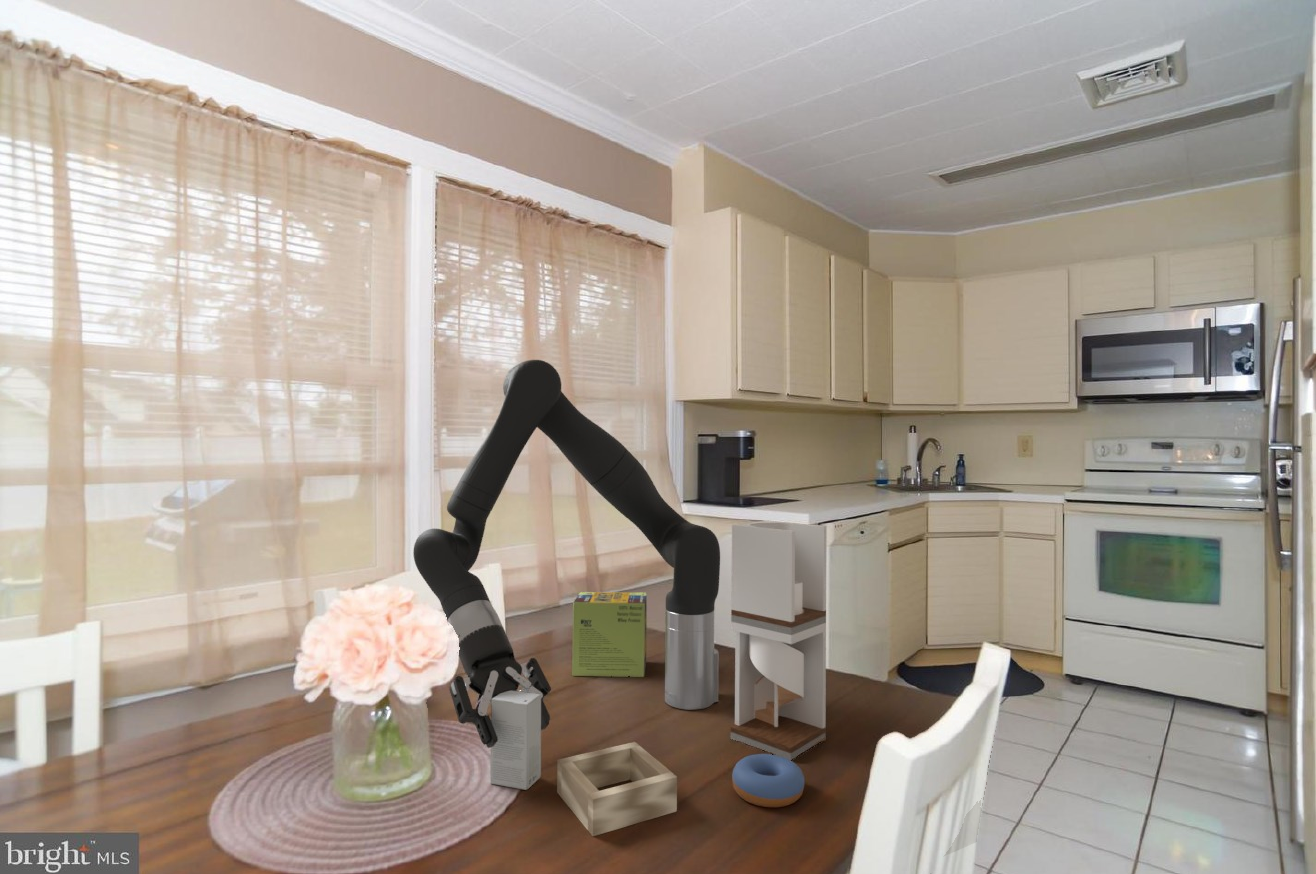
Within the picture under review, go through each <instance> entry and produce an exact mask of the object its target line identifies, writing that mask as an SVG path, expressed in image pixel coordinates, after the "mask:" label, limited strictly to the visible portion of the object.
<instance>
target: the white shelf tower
mask: <svg viewBox="0 0 1316 874" xmlns="http://www.w3.org/2000/svg"><path fill="white" fill-rule="evenodd" d="M730 594H731V601H730V602H731V604H730V605H731V606H730V607H731V614H730V615H731V617H730V619H731V622H730V623H731V624H730V627H731V628H730V629H731V631H733V632H734V633H735V635H734V637H735V640H734V642H735V644H734V646H735V647H734V656H735V658H734V660H735V662H734V666H735V667H734V724H733V725H730V740H732V739H733V740H732V741H735V740H736V741H735V742H737V741H741V742H744V743H746V744H748V745H751V746H754V747H757V748H760V749H762V750H765V751H768V752H772V753H774V754H776V755H779V756H781V757H784V758H787V759H789V760H792V759H793V758H794V757H796V756H798V755H799V754H800V753H802V752H804V751H805V750H807V749H808V748H809V747H811V746H812V745H814V744H815V743H816V742H818V741H820V740H821V739H823V738H824V737H825V738H826V724H827V723H826V714H827V712H826V709H827V708H826V706H827V705H826V704H827V703H826V697H827V695H826V693H827V691H826V688H827V687H826V684H827V683H826V682H827V680H826V679H827V678H826V677H827V676H826V675H827V674H826V673H827V525H819V524H807V523H796V522H789V521H788V522H787V521H776V520H775V521H774V520H763V521H761V520H760V521H755V522H754V521H753V522H747V523H739V524H732V525H731V593H730ZM748 745H747V746H748ZM751 746H750V747H751ZM754 747H753V748H754ZM762 750H761V751H762ZM798 757H799V756H798ZM793 760H794V759H793ZM793 760H792V761H793Z"/></svg>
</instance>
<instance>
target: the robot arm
mask: <svg viewBox="0 0 1316 874" xmlns="http://www.w3.org/2000/svg"><path fill="white" fill-rule="evenodd" d="M503 379H504V380H503V385H502V386H503V388H502V389H503V395H504V399H503V401H502V405H501V408H500V411H499V413H498V415H497V418H496V419H495V422H494V424H493V426H492V427H491V429H490V431H489V433H488V434H487V436H486V437H485V439H484V441H483V442H482V444H481V445H480V447H479V448H478V449H477V451H476V453H475V454H474V456H473V457H472V459H471V460H470V462H469V464H468V465H467V466H466V468H465V470H464V472H463V474H462V475H461V477H460V479H459V481H458V483H457V485H456V487H455V488H454V490H453V492H452V494H451V495H450V497H449V499H448V502H447V505H446V511H447V512H448V514H449V515H450V516H451V517H452V518H454V519H455V520H454V521H455V522H454V527H453V530H452V532H451V531H449V530H448V531H447V530H445V529H442V528H430V529H426V530H425V531H423V532H421V534H419V535H418V537H417V538H416V540H415V542H414V545H413V560H414V563H415V566H416V568H417V570H418V572H419V574H420V576H421V577H422V578H423V580H424V581H425V583H426V585H427V586H428V588H429V589H430V590H431V592H432V593H433V594H434V595H435V596H436V598H437V599H438V601H439V602H440V605H441V609H442V611H443V613H445V614H446V616H445V618H446V617H447V619H446V621H447V623H448V622H449V623H450V624H451V625H452V626H453V628H454V630H455V632H456V634H457V635H458V638H459V647H460V650H459V655H458V657H459V660H460V662H461V665H462V668H463V670H464V673H465V674H466V676H467V677H463V676H461V675H457V676H455V678H454V680H453V681H452V683H451V684H450V686H449V693H450V696H451V700H452V703H453V706H454V709H455V713H456V716H457V719H458V722H459V723H460V724H463V725H464V724H466V723H472V724H474V725H475V728H476V730H477V733H478V735H479V740H480V741H481V743H482V744H483V746H484V745H485V746H486V747H487V748H488V749H491V747H493V746H494V745H495V744H496V742H497V741H498V738H497V735H496V732H495V730H494V727H493V725H492V722H491V716H490V715H489V714H488V715H487V711H488V708H489V705H490V703H491V699H492V698H494V697H495V696H497V695H499V694H501V693H504V692H507V691H519V692H526V693H533V694H541V731H543V730H546V728H547V727H548V726H549V725H550V720H551V716H550V713H549V712H548V709H547V706H546V704H545V702H544V700H545V698H547V696H548V695H549V693H550V692H551V691H552V687H551V684H550V683H549V681H548V680H547V677H546V675H545V674H544V671H543V669H542V668H541V666H540V664H539V662H538V660H537V659H536V658H535V657H531V658H530V659H529V660H528V661H527V662H524V663H519V662H518V661H517V660H516V658H515V654H514V653H515V652H514V650H513V646H512V644H511V642H510V639H509V638H508V635H507V633H506V630H505V628H504V625H503V624H502V621H501V618H500V617H499V615H498V613H497V612H496V609H495V608H494V606H493V604H492V602H491V601H490V598H489V595H488V594H487V591H486V588H485V587H484V584H483V583H482V581H481V579H480V577H478V576H477V575H475V574H474V573H471V572H470V571H469V570H470V569H471V568H472V567H473V566H474V564H475V563H476V562H477V559H478V557H479V554H480V549H481V546H482V542H483V538H484V533H485V530H486V524H487V520H488V518H489V516H490V514H491V512H492V510H493V508H494V507H495V504H496V503H497V500H498V499H499V497H500V495H501V493H502V491H503V489H504V487H505V486H506V483H507V480H508V478H509V477H510V475H511V474H512V471H513V468H514V467H515V464H516V462H517V461H518V459H519V457H520V455H521V453H522V452H523V450H524V448H525V447H526V445H527V443H528V442H529V440H530V438H531V437H532V435H533V433H534V432H535V431H536V429H537V428H538V430H540V431H541V432H542V433H544V435H545V436H547V437H548V438H549V439H550V440H551V441H552V442H553V443H554V445H555V446H556V447H557V448H558V449H559V450H560V451H561V453H562V454H563V456H564V457H566V459H567V461H569V463H570V464H571V465H572V466H573V467H574V468H575V469H576V470H577V471H578V473H579V474H580V475H581V476H582V477H583V478H584V479H585V480H586V482H588V484H590V485H591V486H592V488H593V489H594V490H596V491H597V493H598V494H599V495H601V497H603V499H605V500H606V501H607V502H608V503H609V504H611V506H612V507H614V508H615V509H616V510H617V511H618V512H619V513H620V514H621V515H623V516H624V517H625V518H626V519H628V520H629V521H630V522H631V523H632V524H633V525H634V526H636V527H637V529H639V530H640V531H641V532H642V534H643V535H644V536H645V538H646V539H647V540H648V541H649V543H651V545H652V547H654V549H655V550H656V551H657V552H658V554H659V555H660V556H661V558H662V559H663V560H664V561H665V563H667V564H668V565H669V566H670V567H671V568H673V584H672V588H671V591H669V592H668V593H667V594H666V595H665V620H664V621H665V622H664V623H665V632H664V633H665V638H664V639H665V644H664V646H665V648H664V658H665V659H664V662H665V663H664V702H665V703H666V704H667V705H669V706H670V707H673V708H676V709H680V710H687V711H688V710H701V709H706V708H709V707H710V706H712V705H713V704H714V703H718V702H719V662H720V660H719V657H720V656H719V651H718V649H716V648H715V604H716V599H717V597H718V595H719V588H720V575H721V573H720V571H721V570H720V569H721V549H720V543H719V539H718V537H717V536H716V534H715V532H713V531H712V530H711V529H710V528H707V527H705V526H702V525H699V524H695V523H692V522H690V521H688V520H687V519H686V518H684V517H683V516H682V515H680V514H679V513H678V512H677V510H675V509H674V508H672V507H671V506H670V505H669V504H668V502H667V501H665V499H664V498H663V497H662V496H661V494H660V493H659V490H657V487H656V485H655V484H654V481H653V480H652V478H651V477H650V475H649V473H648V471H647V470H646V469H645V467H644V466H643V465H642V464H641V463H640V461H639V460H638V459H637V458H636V457H635V456H634V455H633V454H632V453H631V452H630V451H629V450H628V449H627V448H626V447H625V445H623V444H622V443H621V442H620V441H619V440H618V439H617V438H615V437H614V436H613V435H611V433H609V432H607V431H606V430H605V429H604V428H602V427H601V426H599V425H598V424H596V423H595V422H593V421H592V420H591V419H589V418H588V417H586V416H585V415H584V414H583V413H582V412H581V411H580V410H578V408H576V407H575V405H574V404H573V403H572V402H571V400H569V398H568V397H567V396H566V395H565V394H564V392H563V391H562V379H561V376H560V374H559V372H558V370H557V369H556V368H555V367H554V366H553V365H552V364H550V363H549V362H547V361H546V360H541V359H530V360H524V361H522V362H520V363H518V364H517V365H514V366H513V367H512V368H511V369H510V370H509V371H508V372H507V374H505V377H504V378H503ZM445 614H444V615H445ZM522 675H524V676H522ZM519 687H521V689H519ZM469 689H471V690H473V691H474V692H475V693H476V694H478V696H477V699H476V703H475V705H474V708H473V706H472V702H471V699H470V696H469V693H468V691H469Z"/></svg>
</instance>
